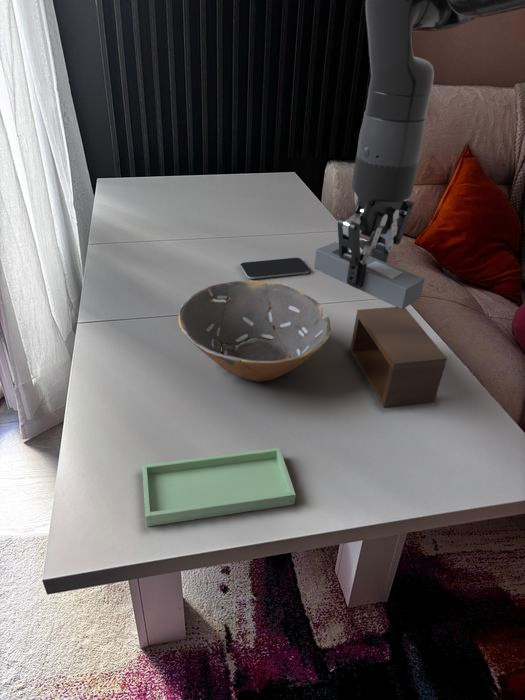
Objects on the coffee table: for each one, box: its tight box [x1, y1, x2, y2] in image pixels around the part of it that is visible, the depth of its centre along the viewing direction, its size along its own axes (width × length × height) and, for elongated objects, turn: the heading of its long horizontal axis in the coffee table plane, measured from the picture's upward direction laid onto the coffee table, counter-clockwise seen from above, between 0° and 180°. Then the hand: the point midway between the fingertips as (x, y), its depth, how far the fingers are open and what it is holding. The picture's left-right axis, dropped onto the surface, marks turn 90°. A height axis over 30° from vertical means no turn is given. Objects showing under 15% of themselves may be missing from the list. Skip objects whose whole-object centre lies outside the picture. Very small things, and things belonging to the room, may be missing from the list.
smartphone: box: [240, 257, 311, 280], centre depth 127 cm, size 7×1×15 cm
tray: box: [141, 447, 297, 527], centre depth 74 cm, size 19×9×2 cm, turn 103°
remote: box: [313, 241, 425, 309], centre depth 76 cm, size 15×4×3 cm, turn 45°
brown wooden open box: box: [349, 306, 448, 408], centre depth 94 cm, size 16×9×9 cm, turn 13°
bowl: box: [178, 280, 332, 382], centre depth 95 cm, size 25×25×10 cm
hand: (365, 279), depth 76 cm, fingers closed on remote, 4 cm apart
